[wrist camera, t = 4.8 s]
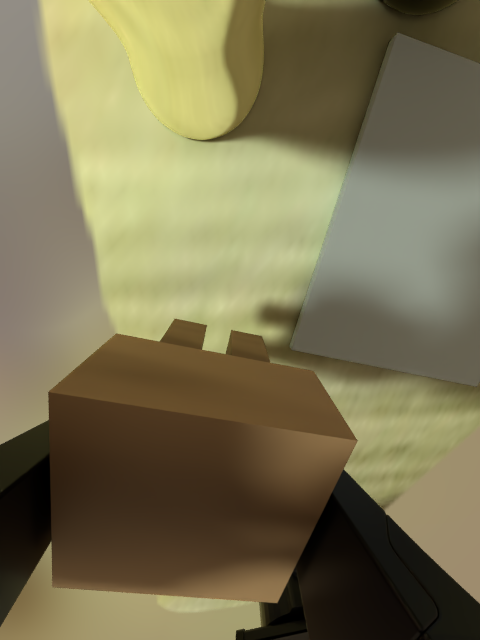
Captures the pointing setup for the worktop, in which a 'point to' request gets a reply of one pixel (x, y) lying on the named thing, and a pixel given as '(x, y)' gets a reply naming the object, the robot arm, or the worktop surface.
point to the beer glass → (192, 59)
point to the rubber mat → (406, 227)
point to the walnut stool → (189, 467)
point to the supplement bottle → (419, 5)
